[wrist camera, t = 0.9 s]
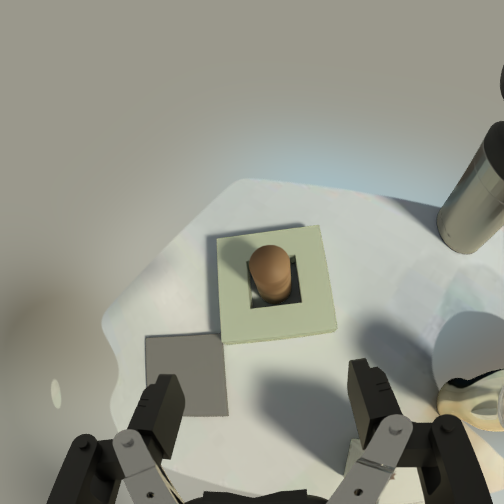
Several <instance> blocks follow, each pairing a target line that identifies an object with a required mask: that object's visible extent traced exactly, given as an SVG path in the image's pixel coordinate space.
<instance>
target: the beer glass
mask: <svg viewBox="0 0 504 504" xmlns="http://www.w3.org/2000/svg"><path fill="white" fill-rule="evenodd" d="M437 410H438V412H439V414H440V415H444V414H451V415H455V416H456V417H458V418H459V419H461V420H464V421H465V422H467V423H469V424H471V425H472V426H474V427H477V428H479V429H482V430H487V431H495V432H504V368H503V369H497V370H492V371H489V372H486V373H484V374H481V375H479V376H477V377H475V378H472V379H470V380H466V379H463V378H454V379H451V380H449V381H448V382H447V383H446V384H444V385H443V387H442V388H441V390H440V392H439V394H438V397H437Z"/></svg>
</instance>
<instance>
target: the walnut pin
mask: <svg viewBox="0 0 504 504" xmlns="http://www.w3.org/2000/svg"><path fill="white" fill-rule="evenodd" d="M249 269H250V272H251V274H252V277H253V279H254V282H255V284H256V287H257V289H258V291H259V294H260V296H261V298H262V299H263V300H264V301H266V302H268V303H270V304H279V303H282V302H284V301H285V300H286V299H287V298H288V297H289V295H290V293H291V271H290V259H289V256H288V254H287V253H286V252H285V250H283V249H282V248H281V247H278V246H275V245H265V246H262V247H260V248H258V249H257V250H255V251H254V253H253V254H252V255H251V257H250V260H249Z"/></svg>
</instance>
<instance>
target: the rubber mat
mask: <svg viewBox="0 0 504 504" xmlns="http://www.w3.org/2000/svg"><path fill="white" fill-rule="evenodd" d="M146 371H147V387H148V386H149V385H150V384H155V383H156V380H157V378H158V376H159V374H175V375H176V376H177V378H178V381H179V383H180V386H181V388H182V391H183V393H184V396H185V409H184V413H183V416H194V417H210V416H229V415H228V403H227V391H226V378H225V364H224V349H223V343H222V340H221V333H220V334H208V335H194V336H178V337H157V338H146Z"/></svg>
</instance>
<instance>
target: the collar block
mask: <svg viewBox="0 0 504 504" xmlns="http://www.w3.org/2000/svg"><path fill="white" fill-rule="evenodd" d="M265 245H275V246H278V247H281V248H282V249H283V250H285V252H286V253H287V254H288V256H289V259H290V264H292V263H296V270H297V277H298V284H299V291H300V299H301V303H294V304H287V305H279V306H271V307H262V308H254V309H253V304H252V293H251V281H250V270H249V260H250V257H251V255H252V254H253V253H254V251H255V250H257V249H258V248H260V247H262V246H265ZM217 263H218V286H219V305H220V323H221V340H222V343H224V344H226V345H232V344H243V343H253V342H263V341H272V340H281V339H289V338H297V337H305V336H312V335H319V334H325V333H332V332H335V331H336V330H337V322H336V315H335V309H334V302H333V296H332V290H331V285H330V279H329V273H328V268H327V262H326V257H325V252H324V247H323V242H322V237H321V232H320V227H319V225H314V226H307V227H299V228H291V229H284V230H276V231H269V232H262V233H254V234H247V235H240V236H233V237H226V238H218V239H217Z"/></svg>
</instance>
